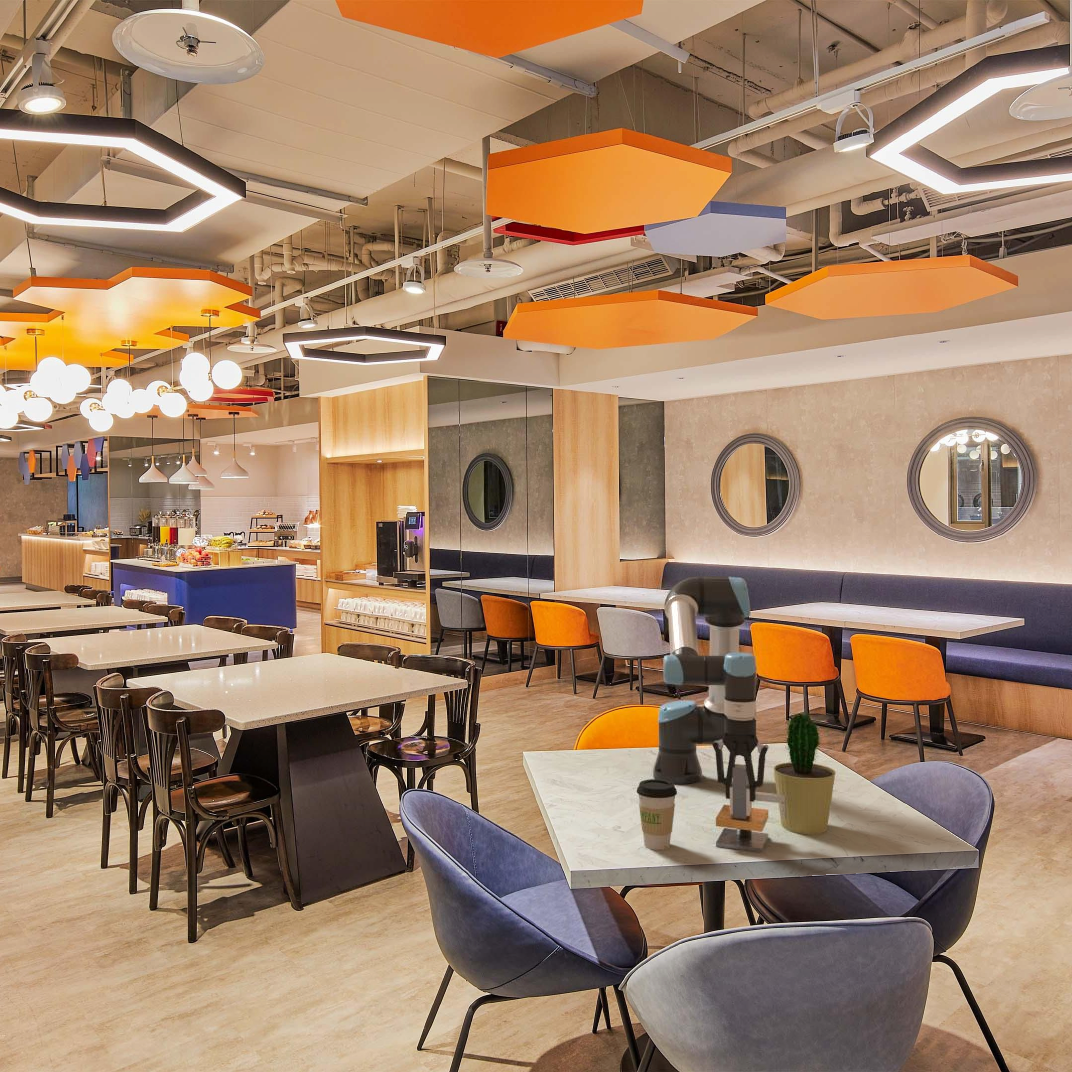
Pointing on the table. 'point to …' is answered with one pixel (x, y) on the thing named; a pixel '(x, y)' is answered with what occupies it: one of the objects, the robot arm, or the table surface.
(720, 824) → the tiered post stand
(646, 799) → the coffee cup
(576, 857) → the table surface
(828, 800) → the potted cactus
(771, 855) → the table surface
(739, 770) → the gray rectangular bar
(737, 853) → the table surface
